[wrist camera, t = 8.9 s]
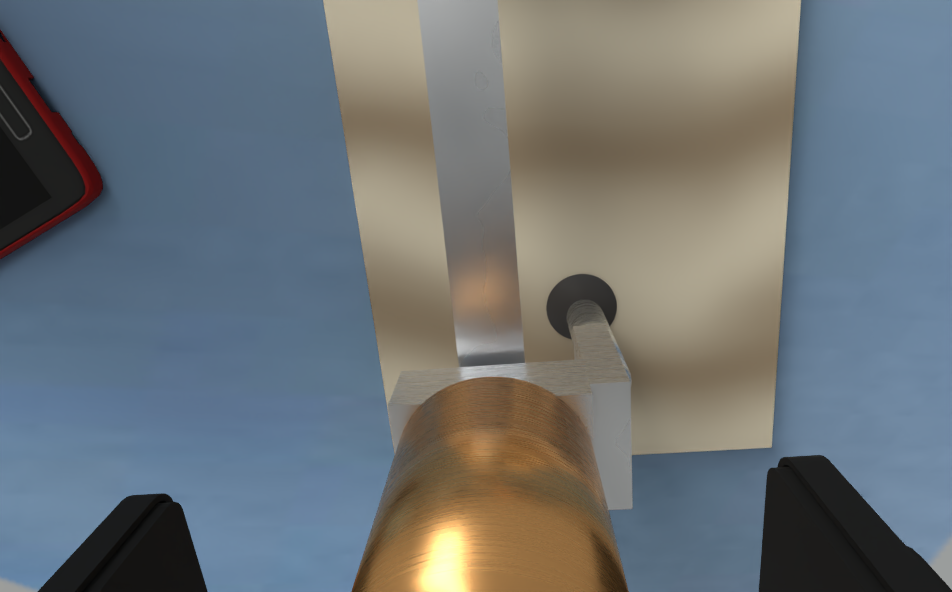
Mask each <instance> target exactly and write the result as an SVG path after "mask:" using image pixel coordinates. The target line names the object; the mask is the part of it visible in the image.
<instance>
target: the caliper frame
mask: <svg viewBox="0 0 952 592" xmlns="http://www.w3.org/2000/svg"><path fill="white" fill-rule="evenodd" d="M417 2H418V11H419V20H420V29H421V37H422V46H423V55H424V64H425V73H426V81H427V90H428V99H429V108H430V117H431V125H432V134H433V143H434V152H435V161H436V170H437V178H438V187H439V196H440V205H441V214H442V222H443V231H444V240H445V249H446V258H447V266H448V275H449V284H450V293H451V302H452V310H453V319H454V328H455V337H456V346H457V355H458V363H459V367H472V366H487V365H503V364H518V363H525V354H524V341H523V328H522V315H521V302H520V288H519V275H518V262H517V249H516V236H515V223H514V209H513V196H512V183H511V170H510V157H509V144H508V131H507V117H506V104H505V91H504V78H503V65H502V52H501V38H500V25H499V12H498V0H417Z"/></svg>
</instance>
